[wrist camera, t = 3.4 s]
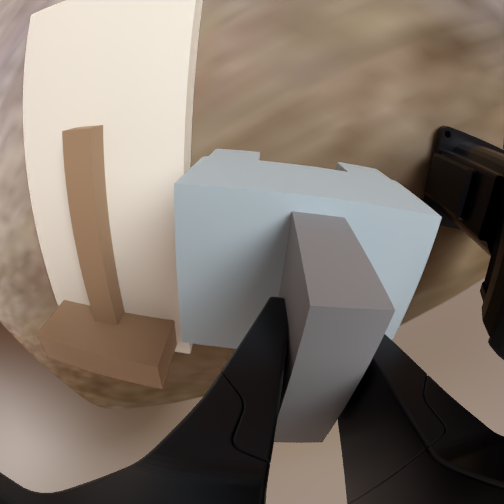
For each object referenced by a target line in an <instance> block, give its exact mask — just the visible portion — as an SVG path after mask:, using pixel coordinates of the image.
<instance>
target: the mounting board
mask: <svg viewBox="0 0 504 504" xmlns="http://www.w3.org/2000/svg"><path fill="white" fill-rule="evenodd" d="M202 3H203V0H66V1H63V2H61V3H58V4H55V5H53V6H50V7H48V8H45V9H43V10H41V11H38V12H36V13H34V14H32V15H31V19H30V25H29V31H28V38H27V46H26V55H25V66H24V83H23V130H24V147H25V159H26V168H27V177H28V184H29V191H30V198H31V204H32V209H33V215H34V220H35V225H36V229H37V234H38V238H39V243H40V247H41V251H42V255H43V258H44V262H45V266H46V269H47V273H48V276H49V279H50V283H51V286H52V289H53V292H54V295H55V298H56V301H57V304H58V308H57V309H56V310H55V312H54V313H53V314H52V316H51V317H50V318H49V320H48V321H47V322H46V324H45V325H44V326H43V328H42V329H41V330H40V332H39V333H38V334H37V337H38V339H39V341H40V343H41V345H42V347H43V349H44V351H45V353H46V355H47V357H48V358H50V359H53V360H56V361H59V362H62V363H65V364H68V365H71V366H74V367H77V368H80V369H83V370H86V371H90V372H93V373H97V374H100V375H104V376H107V377H111V378H115V379H119V380H123V381H127V382H131V383H135V384H140V385H144V386H149V387H154V388H159V389H163V386H164V383H165V380H166V377H167V373H168V370H169V367H170V364H171V361H172V358H173V355H174V352H180V353H187V354H190V353H191V349H192V346H193V344H192V343H185V342H182V334H181V323H180V311H179V299H178V285H177V268H176V248H175V219H174V183H175V182H176V181H177V180H178V179H179V178H180V177H181V176H183V175H184V174H185V173H186V172H187V171H188V170H189V169H190V161H191V133H192V113H193V97H194V82H195V70H196V58H197V47H198V37H199V28H200V19H201V11H202Z"/></svg>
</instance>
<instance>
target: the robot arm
mask: <svg viewBox="0 0 504 504" xmlns="http://www.w3.org/2000/svg"><path fill="white" fill-rule="evenodd" d="M445 131H447V132H448V135H447V137H445ZM503 149H504V145H503ZM423 202H424V203H425V204H427V205H428V206H429V207H430V208H432V209H433V210H434V211H435V212H437V213H438V214H439V215H440V216H441V217H442V219H441V222H440V225H443V226H448V227H453V228H458V229H462V230H463V231H464V232H465V233H466V234H467V235H468V236H469V237H471V238H472V239H473V240H474V241H475V242H476V243H477V244H478V245H479V246H480V247H481V248H482V249H484V250H485V251H486V252H487V253H488V254H489V255H490V256H491V258H490V262H489V266H488V270H487V274H486V277H485V281H484V282H483V283H482V286H481V289H480V293H481V296H482V299H483V305H482V318H483V322H484V325H485V327H486V330H487V332H488V334H489V336H490V338H489V341H488V343H489V345H490V346H491V347H492V349H493V350H494V351H495V352H496V353H497V355H498V356H499V357H501V358H502V359H503V360H504V150H502V149H500V148H498V147H496V146H494V145H492V144H489V143H487V142H485V141H483V140H480V139H478V138H476V137H473V136H471V135H469V134H466V133H464V132H461V131H459V130H456V129H453V128H451V127H448V126H442V127H440V129H439V131H438V137H437V143H436V148H435V153H434V155H433V157H432V161H431V166H430V171H429V175H428V179H427V183H426V188H425V196H424V200H423ZM288 332H289V328H288V319H287V312H286V305H285V299H284V298H283V297H270V298H269V299H268V301H267V302H266V304H265V305H264V307H263V309H262V310H261V312H260V313H259V315H258V316H257V318H256V320H255V321H254V323H253V324H252V326H251V327H250V329H249V331H248V332H247V334H246V335H245V337H244V338H243V340H242V341H241V343H240V344H239V346H238V347H237V349H236V350H235V352H234V353H233V355H232V357H231V358H230V360H229V361H228V363H227V364H226V366H225V367H224V369H223V370H222V372H221V374H219V376H218V377H217V379H216V380H215V382H214V383H213V385H212V386H211V387H210V389H209V390H208V391H207V393H206V394H205V395H204V397H203V398H202V399H201V400H200V401H199V403H198V404H197V405H196V406H195V407H194V408H193V409H192V411H191V412H190V413H189V414H188V415H187V416H186V417H185V418H184V419H183V420H182V421H181V422H180V423H179V424H178V425H177V426H176V427H175V428H174V429H173V430H172V431H171V432H170V433H169V434H168V435H167V436H166V437H165V438H164V439H163V440H162V441H161V442H160V443H159V444H158V445H157V446H156V447H155V448H154V449H153V450H152V451H151V452H149V453H148V454H147V455H146V456H145V457H143V458H142V459H140V460H139V461H138V462H136V463H134V464H132V465H130V466H128V467H126V468H124V469H121V470H119V471H117V472H114V473H111V474H109V475H106V476H104V477H101V478H99V479H96V480H93V481H90V482H87V483H84V484H82V485H79V486H76V487H73V488H69V489H66V490H63V491H59V492H54V493H39V492H34V491H30V490H28V489H25V488H23V487H22V486H20V485H19V484H17V483H15V482H14V481H12V480H11V479H9V478H8V477H6V476H5V475H3V474H2V473H0V504H265V503H266V489H267V482H268V475H269V468H270V462H271V455H272V450H273V444H274V438H275V431H276V425H277V418H278V411H279V404H280V397H281V389H282V382H283V374H284V366H285V358H286V349H287V341H288ZM338 425H339V433H340V441H341V449H342V457H343V466H344V474H345V484H346V494H347V504H504V436H501V435H499V434H497V433H494V432H493V431H492V430H491V429H489V428H488V427H487V426H485V425H484V424H483V423H482V422H481V421H479V420H478V419H477V418H476V417H475V416H473V415H472V414H471V413H470V412H468V411H467V410H466V409H465V408H464V407H463V406H461V405H460V404H459V403H458V402H457V401H456V400H454V399H453V398H452V397H451V396H450V395H449V394H448V393H446V392H445V391H444V390H443V389H442V388H441V387H440V386H439V385H438V384H437V383H436V382H435V381H434V380H433V379H432V378H431V377H429V376H427V374H426V373H425V372H424V371H423V370H422V369H421V368H420V367H419V366H418V365H417V364H416V363H415V362H414V361H413V360H412V359H411V358H410V357H409V356H408V355H407V354H406V353H405V352H403V351H402V350H401V349H400V348H399V347H398V346H397V345H396V344H395V343H394V342H393V341H392V340H391V339H390V338H389V337H388V336H387V335H385V334H384V336H383V338H382V340H381V342H380V344H379V346H378V348H377V350H376V352H375V354H374V356H373V358H372V360H371V362H370V364H369V366H368V368H367V370H366V371H365V373H364V375H363V377H362V379H361V380H360V382H359V384H358V386H357V388H356V389H355V391H354V393H353V394H352V396H351V398H350V400H349V401H348V403H347V405H346V406H345V408H344V409H343V411H342V413H341V414H340V416H339V417H338Z"/></svg>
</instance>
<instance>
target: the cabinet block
mask: <svg viewBox="0 0 504 504" xmlns="http://www.w3.org/2000/svg"><path fill="white" fill-rule="evenodd" d="M259 158H260V152H254V151H242V150H228V149H216V150H215V151H213V152H212V153H211V154H210V155H209V156H208V157H206V156H203V157H202V158H201V159H200V160H199V161H198V162H197V163H195V164H194V165H193V166H192V167H191V168H190V169H189V170H188V171H187V172H186V173H185V174H184V175H183V176H181V177H180V178H179V179H178V180H177V181H176V182H175V183H174V219H175V248H176V268H177V285H178V299H179V311H180V323H181V334H182V342H185V343H192V344H199V345H207V346H215V347H224V348H233V349H237V347H238V346H239V344H240V343H241V341H242V340H243V338H244V337H245V335H246V334H247V332H248V331H249V329H250V327H251V326H252V324H253V323H254V321H255V320H256V318H257V316H258V315H259V313H260V312H261V310H262V309H263V307H264V305H265V304H266V302H267V301H268V299H269V298H270V297H283V298H284V299H285V305H286V312H287V319H288V328H289V332H288V341H287V349H286V358H285V366H284V374H283V382H282V389H281V397H280V404H279V411H278V418H277V425H276V431H275V438H274V442H323V440H324V439H325V437H326V435H327V434H328V433H329V431H330V430H331V428H332V427H333V425H334V424H335V422H336V421H337V419H338V417H339V416H340V414H341V413H342V411H343V409H344V408H345V406H346V405H347V403H348V401H349V400H350V398H351V396H352V394H353V393H354V391H355V389H356V388H357V386H358V384H359V382H360V380H361V379H362V377H363V375H364V373H365V371H366V370H367V368H368V366H369V364H370V362H371V360H372V358H373V356H374V354H375V352H376V350H377V348H378V346H379V344H380V342H381V340H382V338H383V336H384V334H385V335H387V336H388V337H389V338H390V339H391V340H393V338H394V336H395V334H396V332H397V330H398V328H399V326H400V324H401V322H402V319H403V317H404V315H405V313H406V311H407V309H408V306H409V304H410V302H411V300H412V297H413V295H414V293H415V290H416V288H417V285H418V283H419V281H420V278H421V276H422V273H423V271H424V268H425V265H426V263H427V260H428V257H429V255H430V252H431V249H432V246H433V243H434V240H435V237H436V234H437V231H438V228H439V225H440V222H441V219H442V217H441V216H440V215H439V214H438V213H437V212H435V211H434V210H433V209H432V208H430V207H429V206H428V205H427V204H425V203H424V202H423V201H422V200H420V199H419V198H418V197H416V196H415V195H414V194H413V193H411V192H410V191H409V190H407V189H406V188H405V187H403V186H402V185H401V184H399V183H398V182H396V181H394V180H391V179H389V178H388V177H387V176H385V175H384V174H383V173H381V172H380V171H378V170H377V169H374V168H369V167H364V166H358V165H352V164H347V163H341V162H337V166H336V170H332V169H326V168H319V167H311V166H304V165H296V164H288V163H279V162H270V161H259Z"/></svg>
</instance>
